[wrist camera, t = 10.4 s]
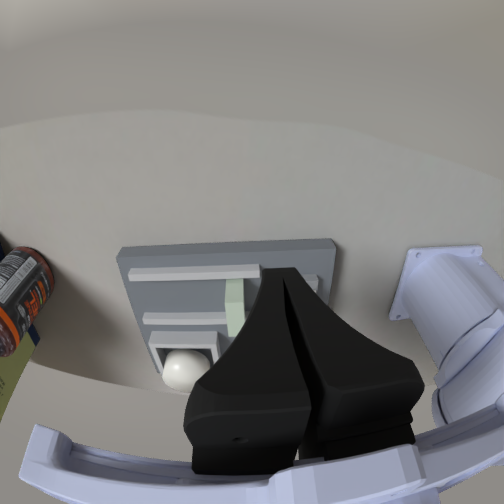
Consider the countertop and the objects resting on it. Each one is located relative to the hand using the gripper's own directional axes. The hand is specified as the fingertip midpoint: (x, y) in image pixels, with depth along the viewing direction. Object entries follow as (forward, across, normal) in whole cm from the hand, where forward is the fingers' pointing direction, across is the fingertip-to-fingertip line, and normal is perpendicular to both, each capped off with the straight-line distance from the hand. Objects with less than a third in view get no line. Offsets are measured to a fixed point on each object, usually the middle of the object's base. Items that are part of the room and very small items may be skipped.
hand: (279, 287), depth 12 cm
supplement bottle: (+10, +22, +5) cm, 25 cm away
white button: (+7, +7, +13) cm, 17 cm away
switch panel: (+9, +3, +10) cm, 14 cm away
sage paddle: (+8, +2, +6) cm, 10 cm away
